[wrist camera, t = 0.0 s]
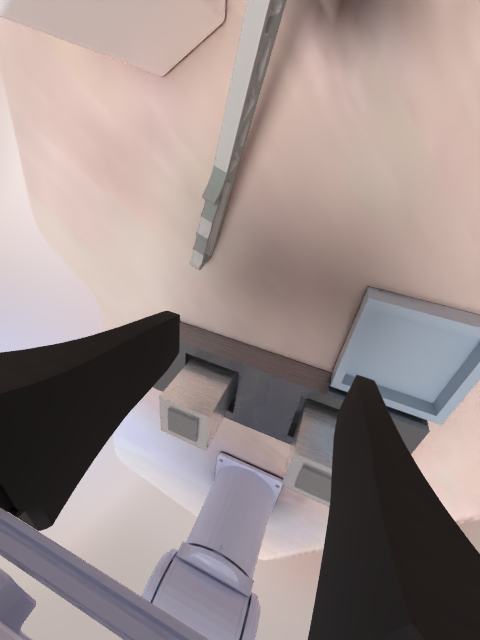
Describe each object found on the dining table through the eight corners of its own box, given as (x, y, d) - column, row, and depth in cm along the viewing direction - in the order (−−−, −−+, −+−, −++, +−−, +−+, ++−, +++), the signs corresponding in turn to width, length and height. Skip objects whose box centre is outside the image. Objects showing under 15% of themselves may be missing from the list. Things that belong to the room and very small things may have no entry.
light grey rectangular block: (343, 438, 24) (337, 513, 19) (297, 420, 25) (280, 487, 20) (360, 407, 22) (358, 483, 17) (309, 389, 23) (293, 455, 18)
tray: (436, 405, 20) (441, 425, 19) (332, 370, 22) (330, 386, 21) (501, 320, 16) (514, 337, 15) (368, 286, 18) (368, 297, 17)
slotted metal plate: (384, 457, 24) (386, 484, 23) (167, 371, 30) (153, 387, 28) (423, 404, 21) (429, 431, 19) (166, 316, 26) (149, 330, 24)
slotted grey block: (235, 395, 26) (204, 452, 21) (197, 381, 27) (159, 432, 22) (240, 364, 24) (207, 419, 19) (198, 349, 25) (157, 398, 20)
